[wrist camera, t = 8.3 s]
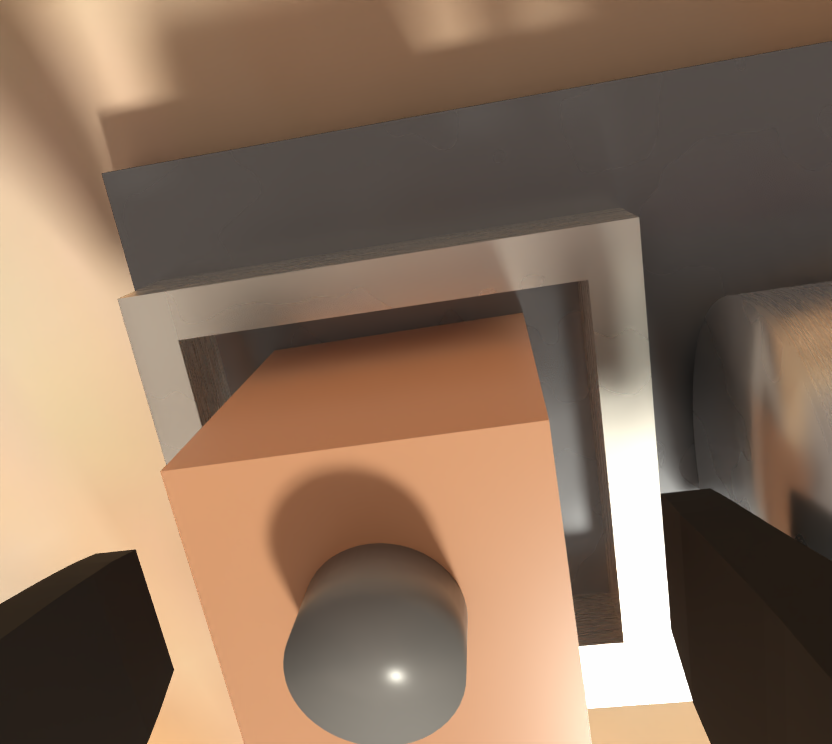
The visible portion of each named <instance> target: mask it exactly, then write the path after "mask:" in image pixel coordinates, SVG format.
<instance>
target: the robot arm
mask: <svg viewBox="0 0 832 744" xmlns="http://www.w3.org/2000/svg"><path fill="white" fill-rule="evenodd" d="M661 507H662V520H663V533H664V546H665V559H666V573H667V586H668V599H669V612H670V625H671V631H672V635H673V638H674V641H675V645H676V648H677V652H678V655H679V658H680V662H681V665H682V669H683V672H684V675H685V678H686V682H687V685H688V688H689V691H690V695H691V698H692V701H693V703H694V706H695V708H696V710H697V713H698V715H699V718H700V720H701V722H702V725H703V727H704V729H705V731H706V734H707V736H708V738H709V741H710V743H711V744H832V561H831V560H830V559H828V558H826V557H824V556H823V555H821V554H819V553H817V552H816V551H814V550H812V549H811V548H809V547H807V546H805V545H804V544H802V543H800V542H799V541H797V540H795V539H794V538H792V537H790V536H789V535H787V534H785V533H784V532H782V531H780V530H779V529H777V528H776V527H774V526H772V525H771V524H769V523H767V522H766V521H764V520H763V519H761V518H759V517H758V516H756V515H754V514H753V513H751V512H750V511H748V510H746V509H745V508H743V507H742V506H740V505H738V504H737V503H735V502H733V501H732V500H730V499H728V498H727V497H725V496H723V495H722V494H720V493H718V492H716V491H714V490H713V489H711V488H707V489H698V490H689V491H679V492H670V493H661ZM173 671H174V668H173V665H172V662H171V659H170V656H169V653H168V649H167V646H166V643H165V640H164V637H163V634H162V631H161V628H160V624H159V621H158V618H157V615H156V612H155V609H154V606H153V603H152V599H151V596H150V593H149V590H148V587H147V584H146V581H145V578H144V574H143V571H142V568H141V565H140V562H139V559H138V556H137V553H136V550H127V551H117V552H108V553H99V554H94V555H92V556H89V557H87V558H85V559H82V560H80V561H78V562H76V563H74V564H72V565H70V566H68V567H66V568H64V569H62V570H60V571H58V572H56V573H54V574H52V575H51V576H49V577H47V578H45V579H43V580H41V581H40V582H38V583H36V584H34V585H33V586H31V587H29V588H27V589H25V590H24V591H22V592H20V593H19V594H17V595H15V596H13V597H12V598H10V599H8V600H6V601H5V602H3V603H1V604H0V744H147V742H148V740H149V738H150V735H151V733H152V730H153V728H154V725H155V722H156V720H157V717H158V715H159V712H160V709H161V707H162V704H163V701H164V698H165V695H166V692H167V689H168V686H169V683H170V680H171V677H172V674H173Z"/></svg>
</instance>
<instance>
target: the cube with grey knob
mask: <svg viewBox="0 0 832 744" xmlns="http://www.w3.org/2000/svg"><path fill="white" fill-rule="evenodd" d="M160 472H161V475H162V478H163V482H164V485H165V488H166V491H167V495H168V498H169V501H170V504H171V508H172V511H173V514H174V517H175V521H176V524H177V527H178V530H179V534H180V537H181V540H182V543H183V547H184V550H185V553H186V556H187V560H188V563H189V566H190V569H191V573H192V576H193V579H194V582H195V586H196V589H197V592H198V595H199V599H200V602H201V605H202V608H203V611H204V615H205V618H206V621H207V624H208V628H209V631H210V634H211V637H212V641H213V644H214V647H215V650H216V654H217V657H218V660H219V663H220V667H221V670H222V673H223V676H224V680H225V683H226V686H227V689H228V693H229V696H230V699H231V702H232V706H233V709H234V712H235V715H236V719H237V722H238V725H239V728H240V732H241V735H242V738H243V741H244V744H592V741H591V733H590V726H589V718H588V711H587V703H586V696H585V688H584V680H583V673H582V665H581V658H580V650H579V643H578V635H577V627H576V620H575V612H574V605H573V597H572V590H571V582H570V574H569V567H568V559H567V552H566V544H565V537H564V529H563V521H562V514H561V506H560V499H559V491H558V484H557V476H556V469H555V461H554V453H553V446H552V438H551V431H550V423H549V418H548V413H547V409H546V405H545V401H544V397H543V393H542V389H541V385H540V381H539V376H538V372H537V368H536V364H535V360H534V356H533V352H532V348H531V343H530V339H529V335H528V331H527V327H526V323H525V319H524V315H523V313H517V314H510V315H504V316H497V317H491V318H484V319H477V320H471V321H464V322H458V323H451V324H445V325H438V326H431V327H425V328H418V329H412V330H405V331H399V332H392V333H386V334H379V335H372V336H366V337H359V338H353V339H346V340H340V341H333V342H326V343H320V344H313V345H307V346H300V347H294V348H287V349H280V350H274V352H273V353H272V354H271V355H270V356H269V357H268V358H267V359H266V360H265V361H264V362H263V363H262V364H261V365H260V366H259V367H258V369H257V370H256V371H255V372H254V373H253V374H252V375H251V376H250V377H249V378H248V379H247V380H246V381H245V382H244V383H243V384H242V385H241V387H240V388H239V389H238V390H237V391H236V392H235V393H234V394H233V395H232V396H231V397H230V398H229V399H228V400H227V401H226V402H225V404H224V405H223V406H222V407H221V408H220V409H219V410H218V411H217V412H216V413H215V414H214V415H213V416H212V417H211V418H210V419H209V420H208V422H207V423H206V424H205V425H204V426H203V427H202V428H201V429H200V430H199V431H198V432H197V433H196V434H195V435H194V436H193V437H192V439H191V440H190V441H189V442H188V443H187V444H186V445H185V446H184V447H183V448H182V449H181V450H180V451H179V452H178V453H177V454H176V455H175V457H174V458H173V459H172V460H171V461H170V462H169V463H168V464H167V465H166V466H165V467H164V468H163V469H162V470H161V471H160Z"/></svg>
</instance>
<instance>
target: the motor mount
mask: <svg viewBox="0 0 832 744" xmlns="http://www.w3.org/2000/svg"><path fill="white" fill-rule="evenodd" d="M102 177H103V180H104V184H105V187H106V190H107V194H108V197H109V201H110V204H111V208H112V211H113V215H114V218H115V222H116V225H117V229H118V232H119V236H120V239H121V243H122V246H123V250H124V253H125V257H126V260H127V264H128V267H129V271H130V274H131V278H132V281H133V285H134V288H135V291H134V292H132V293H130V294H127V295H125V296H123V297H121V298H119V299H118V303H119V306H120V309H121V313H122V316H123V319H124V323H125V326H126V330H127V333H128V336H129V340H130V343H131V347H132V350H133V353H134V357H135V360H136V364H137V367H138V370H139V374H140V377H141V381H142V384H143V387H144V391H145V394H146V398H147V401H148V404H149V408H150V411H151V415H152V418H153V421H154V425H155V428H156V432H157V435H158V438H159V442H160V445H161V448H162V452H163V455H164V459H165V462H166V465H167V464H168V463H169V462H170V461H171V460H172V459H173V458H174V457H175V455H176V454H177V453H178V452H179V451H180V450H181V449H182V448H183V447H184V446H185V445H186V444H187V443H188V442H189V441H190V440H191V439H192V437H193V436H194V435H195V434H196V433H197V432H198V431H199V430H200V429H201V428H202V427H203V426H204V425H205V424H206V423H207V422H208V420H209V419H210V418H211V417H212V416H213V415H214V414H215V413H216V412H217V411H218V410H219V409H220V408H221V407H222V406H223V405H224V404H225V402H226V401H227V400H228V399H229V398H230V397H231V396H232V395H233V394H234V393H235V392H236V391H237V390H238V389H239V388H240V387H241V385H242V384H243V383H244V382H245V381H246V380H247V379H248V378H249V377H250V376H251V375H252V374H253V373H254V372H255V371H256V370H257V369H258V367H259V366H260V365H261V364H262V363H263V362H264V361H265V360H266V359H267V358H268V357H269V356H270V355H271V354H272V353H273V352H274V350H280V349H287V348H294V347H300V346H307V345H313V344H320V343H326V342H333V341H340V340H346V339H353V338H359V337H366V336H372V335H379V334H386V333H392V332H399V331H405V330H412V329H418V328H425V327H431V326H438V325H445V324H451V323H458V322H464V321H471V320H477V319H484V318H491V317H497V316H504V315H510V314H517V313H523V315H524V319H525V323H526V327H527V331H528V335H529V339H530V343H531V348H532V352H533V356H534V360H535V364H536V368H537V372H538V376H539V381H540V385H541V389H542V393H543V397H544V401H545V405H546V409H547V413H548V418H549V423H550V431H551V438H552V446H553V453H554V461H555V469H556V476H557V484H558V491H559V499H560V506H561V514H562V521H563V529H564V537H565V544H566V552H567V559H568V567H569V574H570V582H571V590H572V597H573V605H574V612H575V620H576V627H577V635H578V643H579V650H580V658H581V665H582V673H583V680H584V688H585V696H586V703H587V708H600V707H614V706H628V705H641V704H655V703H669V702H683V701H692V698H691V695H690V691H689V688H688V685H687V682H686V678H685V675H684V672H683V669H682V665H681V662H680V658H679V655H678V652H677V648H676V645H675V641H674V638H673V635H672V631H671V625H670V612H669V599H668V586H667V573H666V559H665V546H664V533H663V520H662V507H661V493H670V492H679V491H689V490H698V489H707V488H711V489H713V490H714V491H716V492H718V493H720V494H722V495H723V496H725V497H727V498H728V499H730V500H732V501H733V502H735V503H737V504H738V505H740V506H742V507H743V508H745V509H746V510H748V511H750V512H751V513H753V514H754V515H756V516H758V517H759V518H761V519H763V520H764V521H766V522H767V523H769V524H771V525H772V526H774V527H776V528H777V529H779V530H780V531H782V532H784V533H785V534H787V535H789V536H790V537H792V538H794V539H795V540H797V541H799V542H800V543H802V544H804V545H805V546H807V547H809V548H811V549H812V550H814V551H816V552H817V553H819V554H821V555H823V556H824V557H826V558H828V559H830V560H831V561H832V41H829V42H824V43H818V44H813V45H807V46H802V47H796V48H791V49H785V50H780V51H774V52H769V53H763V54H758V55H752V56H747V57H741V58H735V59H730V60H724V61H719V62H713V63H708V64H702V65H697V66H691V67H686V68H680V69H675V70H669V71H664V72H658V73H653V74H647V75H642V76H636V77H631V78H625V79H620V80H614V81H609V82H603V83H598V84H592V85H587V86H581V87H576V88H570V89H564V90H559V91H553V92H548V93H542V94H537V95H531V96H526V97H520V98H515V99H509V100H504V101H498V102H493V103H487V104H482V105H476V106H471V107H465V108H460V109H454V110H449V111H443V112H438V113H432V114H427V115H421V116H416V117H410V118H404V119H399V120H393V121H388V122H382V123H377V124H371V125H366V126H360V127H355V128H349V129H344V130H338V131H333V132H327V133H322V134H316V135H311V136H305V137H300V138H294V139H289V140H283V141H278V142H272V143H267V144H261V145H256V146H250V147H245V148H239V149H233V150H228V151H222V152H217V153H211V154H206V155H200V156H195V157H189V158H184V159H178V160H173V161H167V162H162V163H156V164H151V165H145V166H140V167H134V168H129V169H123V170H118V171H112V172H107V173H102Z"/></svg>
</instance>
